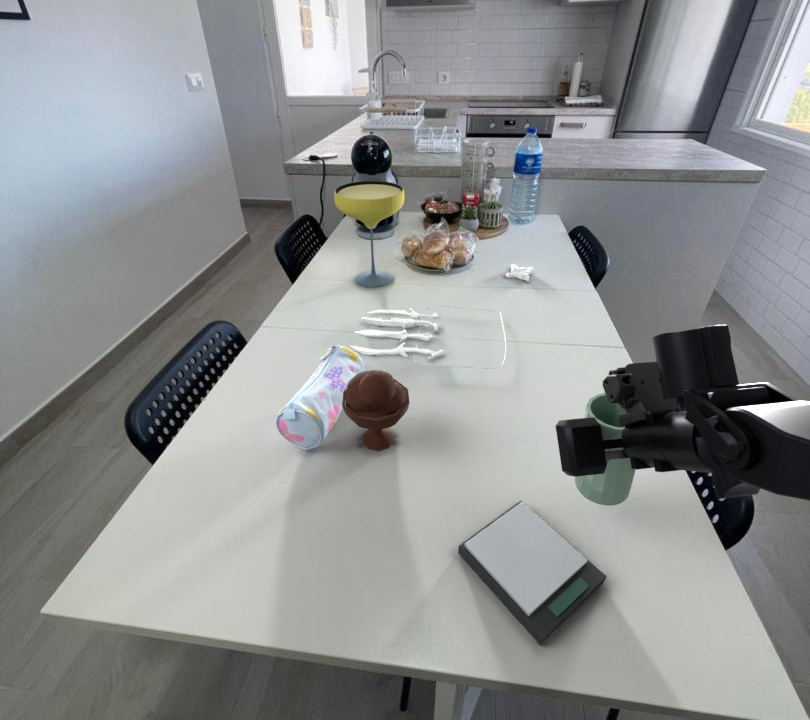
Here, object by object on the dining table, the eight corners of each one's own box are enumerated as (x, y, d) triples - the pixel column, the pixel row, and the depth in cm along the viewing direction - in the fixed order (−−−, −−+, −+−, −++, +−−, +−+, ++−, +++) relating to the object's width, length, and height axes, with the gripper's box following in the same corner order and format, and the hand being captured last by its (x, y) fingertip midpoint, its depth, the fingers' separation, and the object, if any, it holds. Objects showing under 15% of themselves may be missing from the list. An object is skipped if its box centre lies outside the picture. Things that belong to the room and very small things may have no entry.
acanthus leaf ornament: (510, 268, 135) (511, 262, 134) (533, 271, 133) (534, 265, 132) (504, 277, 129) (505, 271, 128) (528, 281, 127) (529, 275, 126)
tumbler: (640, 488, 60) (661, 412, 53) (607, 514, 58) (624, 438, 50) (596, 458, 65) (610, 385, 58) (564, 481, 63) (574, 408, 55)
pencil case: (328, 376, 92) (323, 337, 86) (368, 383, 90) (365, 344, 84) (277, 449, 75) (267, 407, 70) (324, 460, 73) (317, 417, 68)
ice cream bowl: (421, 430, 79) (422, 362, 70) (385, 473, 71) (382, 401, 62) (371, 409, 83) (367, 342, 74) (333, 447, 76) (323, 377, 67)
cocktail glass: (342, 267, 135) (334, 181, 121) (401, 264, 137) (401, 179, 122) (341, 295, 121) (332, 201, 106) (408, 291, 122) (408, 198, 108)
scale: (603, 583, 56) (608, 573, 55) (540, 645, 51) (544, 636, 49) (519, 507, 66) (521, 497, 64) (457, 553, 60) (459, 542, 58)
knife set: (366, 303, 116) (366, 299, 116) (502, 311, 112) (503, 307, 112) (342, 360, 96) (341, 356, 95) (507, 372, 92) (508, 368, 91)
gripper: (755, 352, 46) (658, 374, 61) (581, 366, 44) (526, 385, 59) (780, 463, 44) (673, 457, 59) (600, 483, 42) (538, 471, 57)
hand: (603, 440), depth 59 cm, fingers closed on tumbler, 7 cm apart
